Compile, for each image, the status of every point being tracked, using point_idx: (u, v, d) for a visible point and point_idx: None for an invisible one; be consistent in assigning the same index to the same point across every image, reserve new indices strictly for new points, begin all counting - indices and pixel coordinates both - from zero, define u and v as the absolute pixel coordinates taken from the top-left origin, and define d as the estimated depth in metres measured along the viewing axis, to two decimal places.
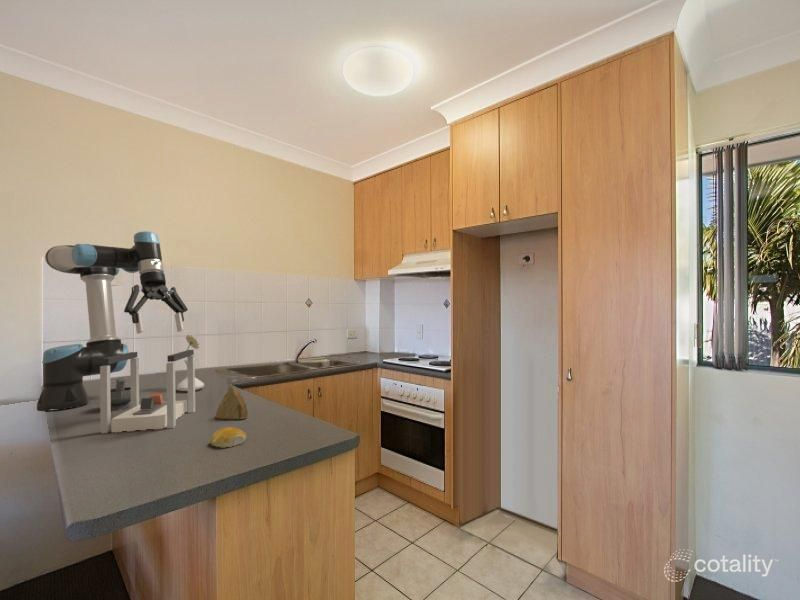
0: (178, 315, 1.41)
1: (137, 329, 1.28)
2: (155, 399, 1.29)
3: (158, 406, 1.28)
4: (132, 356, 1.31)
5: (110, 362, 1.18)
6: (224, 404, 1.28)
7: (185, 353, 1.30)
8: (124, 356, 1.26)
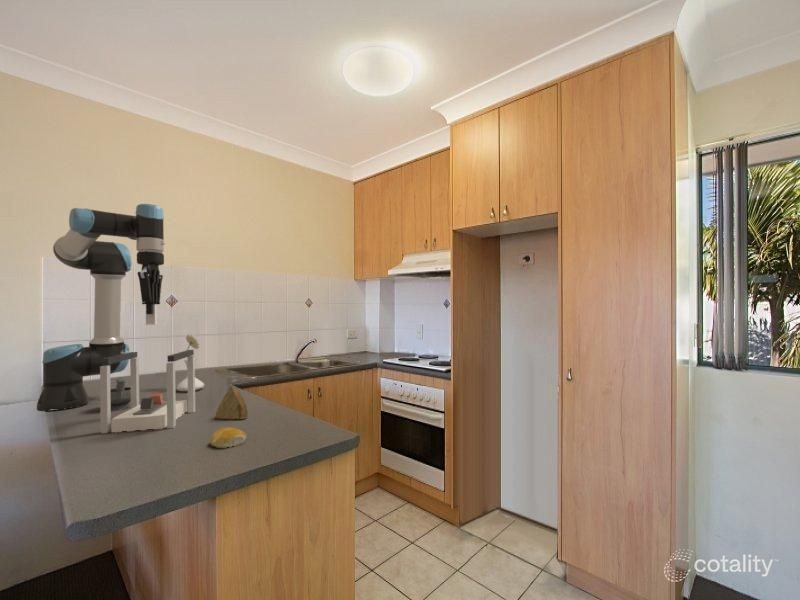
0: None
1: (148, 320, 1.26)
2: (155, 399, 1.29)
3: (158, 406, 1.28)
4: (132, 356, 1.31)
5: (110, 362, 1.18)
6: (224, 404, 1.28)
7: (185, 353, 1.30)
8: (124, 356, 1.26)
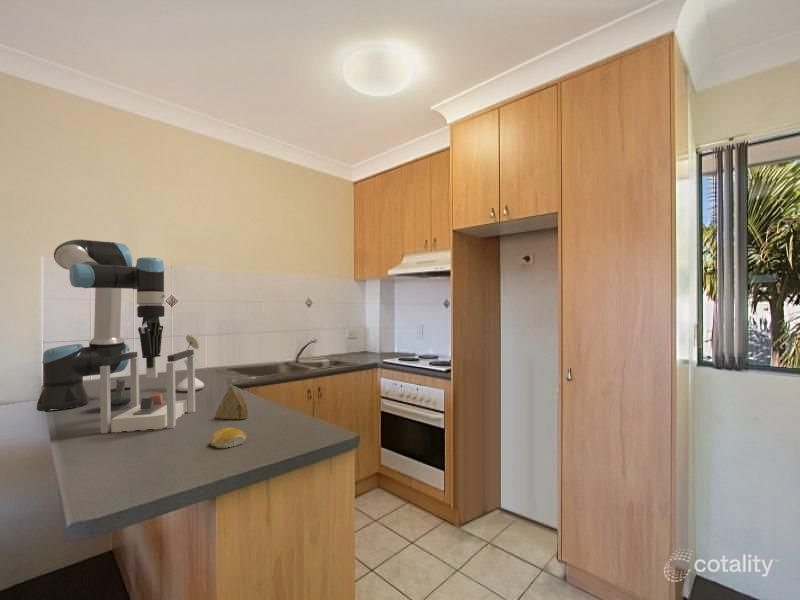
0: None
1: (148, 374, 1.26)
2: (155, 399, 1.29)
3: (158, 406, 1.28)
4: (132, 356, 1.31)
5: (110, 362, 1.18)
6: (224, 404, 1.28)
7: (185, 353, 1.30)
8: (124, 356, 1.26)
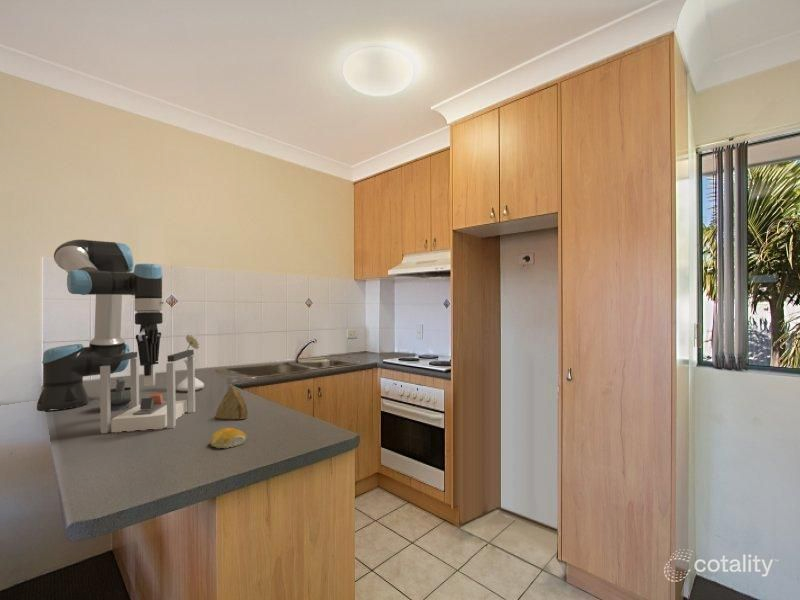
0: None
1: (146, 382, 1.24)
2: (155, 399, 1.29)
3: (158, 406, 1.28)
4: (132, 356, 1.31)
5: (110, 362, 1.18)
6: (224, 404, 1.28)
7: (185, 353, 1.30)
8: (124, 356, 1.26)
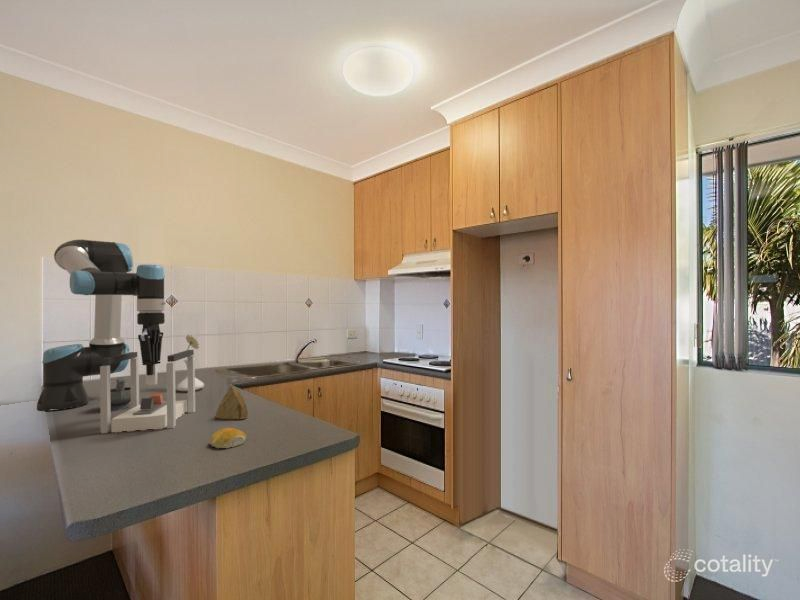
0: None
1: (148, 381, 1.26)
2: (155, 399, 1.29)
3: (158, 406, 1.28)
4: (132, 356, 1.31)
5: (110, 362, 1.18)
6: (224, 404, 1.28)
7: (185, 353, 1.30)
8: (124, 356, 1.26)
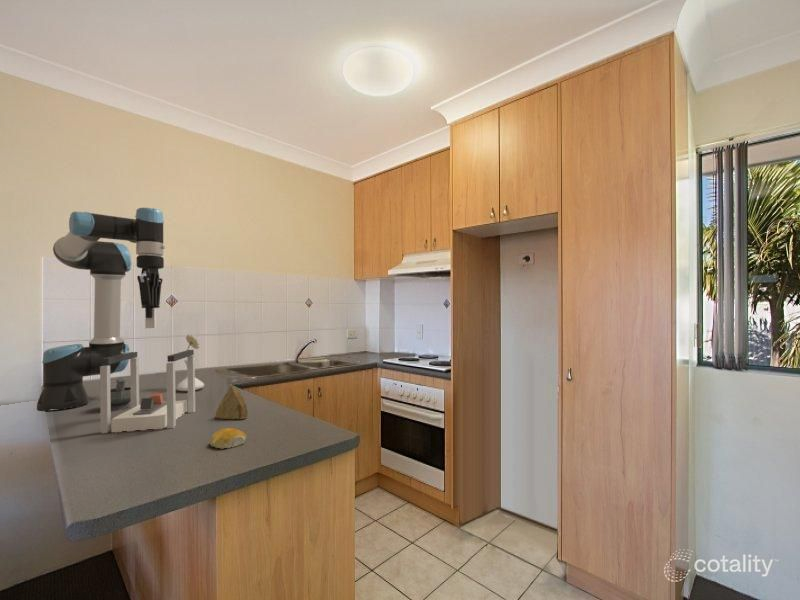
0: None
1: (147, 324, 1.26)
2: (155, 399, 1.29)
3: (158, 406, 1.28)
4: (132, 356, 1.31)
5: (110, 362, 1.18)
6: (224, 404, 1.28)
7: (185, 353, 1.30)
8: (124, 356, 1.26)
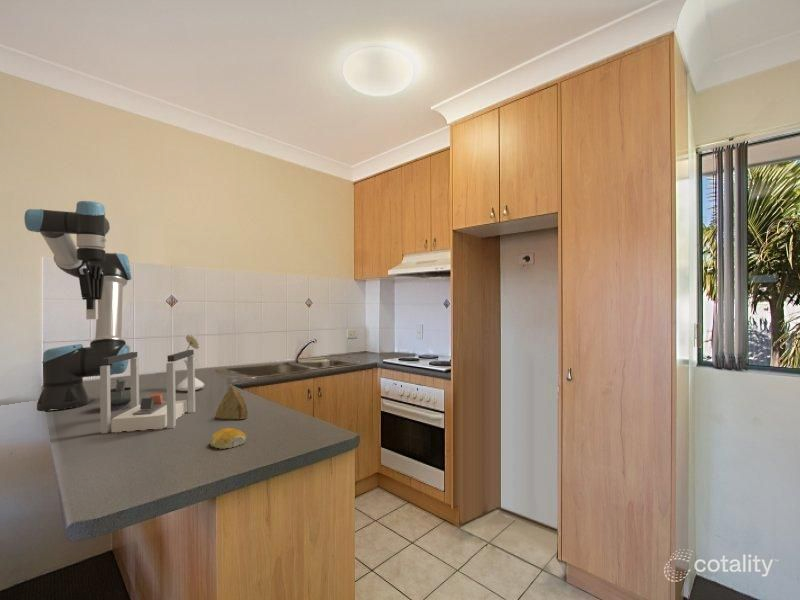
0: None
1: (88, 315, 1.29)
2: (155, 399, 1.29)
3: (158, 406, 1.28)
4: (132, 356, 1.31)
5: (110, 362, 1.18)
6: (224, 404, 1.28)
7: (185, 353, 1.30)
8: (124, 356, 1.26)
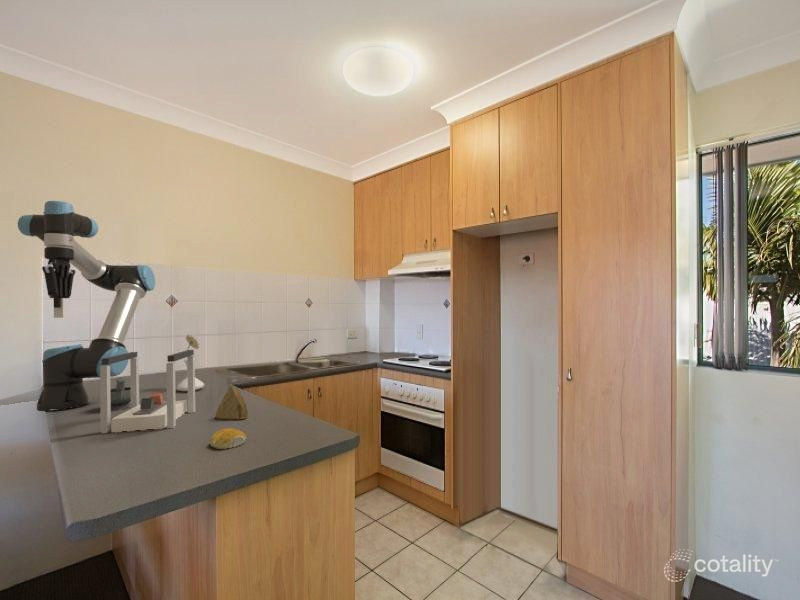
0: None
1: (56, 314, 1.30)
2: (155, 399, 1.29)
3: (158, 406, 1.28)
4: (132, 356, 1.31)
5: (110, 362, 1.18)
6: (224, 404, 1.28)
7: (185, 353, 1.30)
8: (124, 356, 1.26)
